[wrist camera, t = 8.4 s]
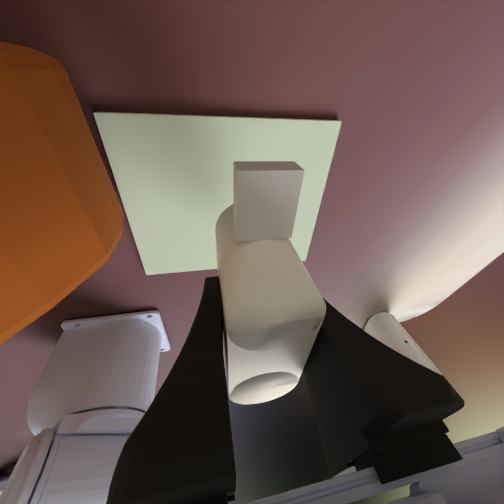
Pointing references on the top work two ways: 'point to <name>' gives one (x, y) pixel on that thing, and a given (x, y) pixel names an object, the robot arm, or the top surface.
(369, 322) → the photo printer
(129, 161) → the rubber mat
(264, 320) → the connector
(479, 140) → the top surface
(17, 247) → the orange toaster
